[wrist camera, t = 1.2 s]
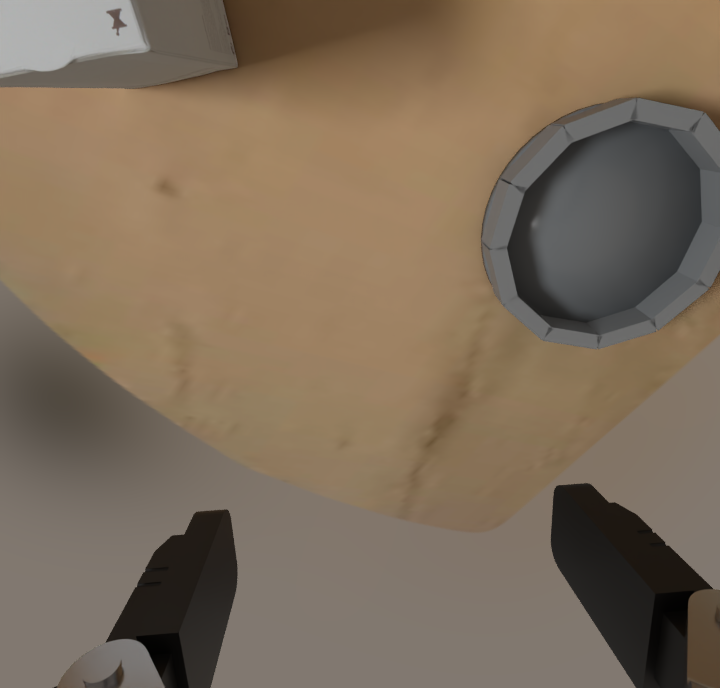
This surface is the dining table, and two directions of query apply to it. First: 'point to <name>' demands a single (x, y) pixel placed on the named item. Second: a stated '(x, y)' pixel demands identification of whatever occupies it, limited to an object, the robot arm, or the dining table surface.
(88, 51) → the skincare box
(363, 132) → the dining table surface
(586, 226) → the round tray
